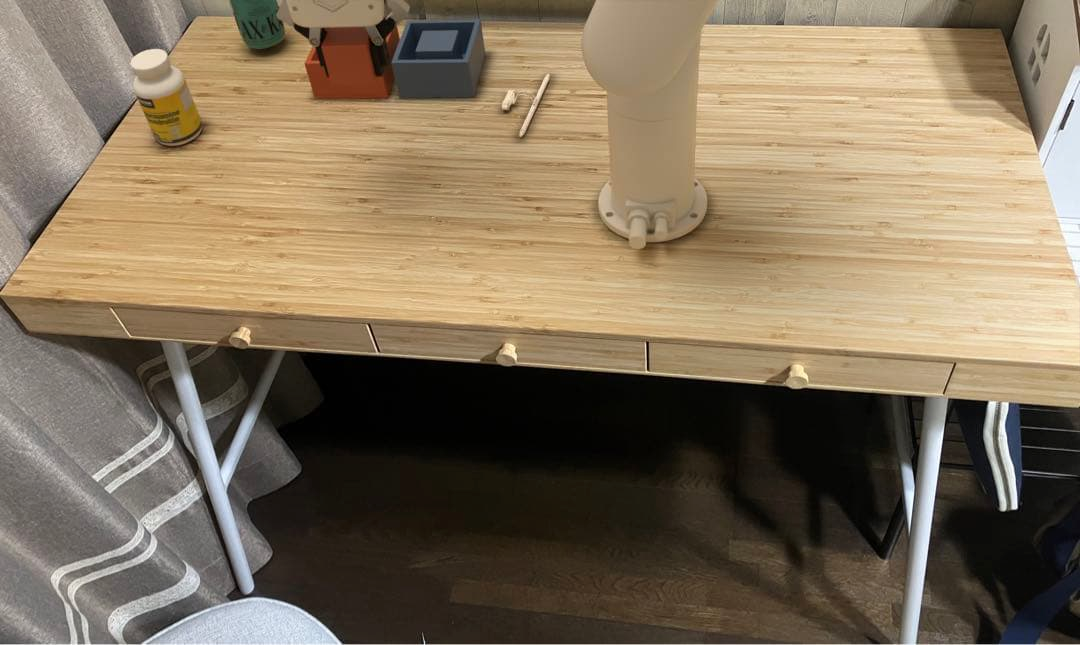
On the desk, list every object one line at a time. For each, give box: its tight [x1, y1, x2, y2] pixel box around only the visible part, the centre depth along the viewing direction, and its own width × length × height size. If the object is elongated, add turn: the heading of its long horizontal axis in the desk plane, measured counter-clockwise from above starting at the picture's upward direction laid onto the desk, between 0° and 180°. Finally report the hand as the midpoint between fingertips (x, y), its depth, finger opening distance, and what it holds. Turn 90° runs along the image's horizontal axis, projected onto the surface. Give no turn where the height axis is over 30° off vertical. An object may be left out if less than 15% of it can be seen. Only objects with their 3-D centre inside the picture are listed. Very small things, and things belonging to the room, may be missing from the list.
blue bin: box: [391, 18, 486, 99], centre depth 138 cm, size 10×10×6 cm
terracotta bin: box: [304, 24, 401, 99], centre depth 140 cm, size 10×10×6 cm
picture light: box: [501, 73, 551, 138], centre depth 133 cm, size 14×4×2 cm, turn 165°
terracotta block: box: [321, 27, 377, 85], centre depth 113 cm, size 5×5×5 cm
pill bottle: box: [130, 48, 203, 147], centre depth 132 cm, size 6×6×12 cm
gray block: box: [416, 30, 463, 60], centre depth 138 cm, size 5×5×5 cm
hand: (357, 68), depth 115 cm, fingers closed on terracotta block, 5 cm apart
